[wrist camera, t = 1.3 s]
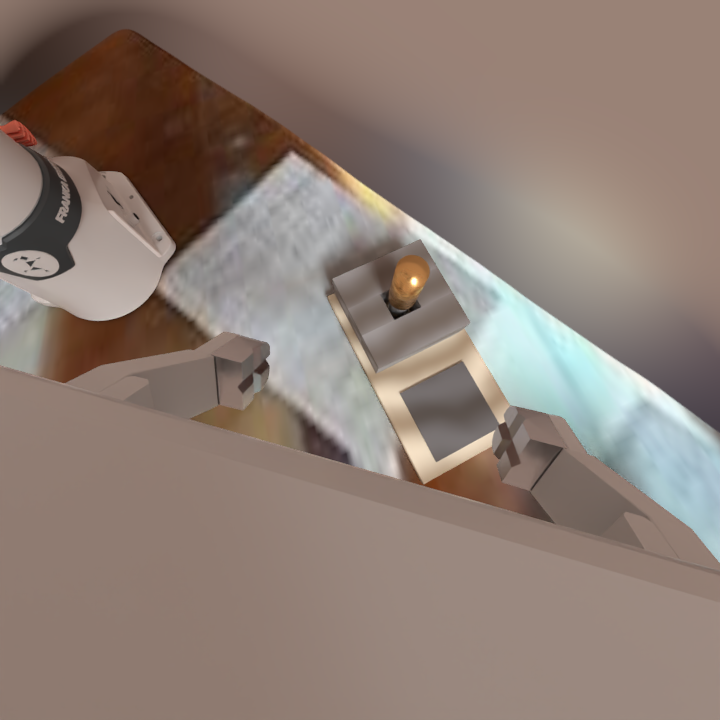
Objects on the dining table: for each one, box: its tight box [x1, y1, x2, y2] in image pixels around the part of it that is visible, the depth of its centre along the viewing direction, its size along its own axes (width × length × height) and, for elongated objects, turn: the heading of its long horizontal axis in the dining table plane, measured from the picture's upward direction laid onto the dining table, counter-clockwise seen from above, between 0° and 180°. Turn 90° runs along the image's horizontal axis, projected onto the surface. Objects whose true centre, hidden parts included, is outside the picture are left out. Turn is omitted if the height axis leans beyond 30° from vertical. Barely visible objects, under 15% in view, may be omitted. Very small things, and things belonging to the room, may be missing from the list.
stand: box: [327, 239, 510, 484], centre depth 35 cm, size 26×14×6 cm, turn 27°
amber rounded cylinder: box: [388, 255, 430, 320], centre depth 32 cm, size 3×3×11 cm
